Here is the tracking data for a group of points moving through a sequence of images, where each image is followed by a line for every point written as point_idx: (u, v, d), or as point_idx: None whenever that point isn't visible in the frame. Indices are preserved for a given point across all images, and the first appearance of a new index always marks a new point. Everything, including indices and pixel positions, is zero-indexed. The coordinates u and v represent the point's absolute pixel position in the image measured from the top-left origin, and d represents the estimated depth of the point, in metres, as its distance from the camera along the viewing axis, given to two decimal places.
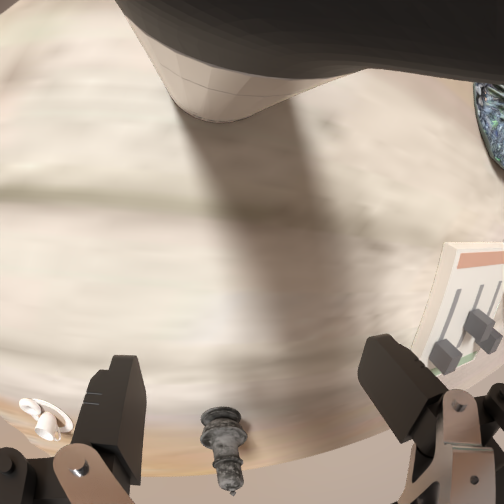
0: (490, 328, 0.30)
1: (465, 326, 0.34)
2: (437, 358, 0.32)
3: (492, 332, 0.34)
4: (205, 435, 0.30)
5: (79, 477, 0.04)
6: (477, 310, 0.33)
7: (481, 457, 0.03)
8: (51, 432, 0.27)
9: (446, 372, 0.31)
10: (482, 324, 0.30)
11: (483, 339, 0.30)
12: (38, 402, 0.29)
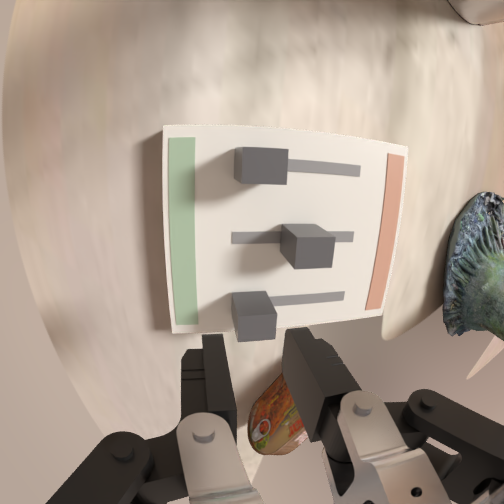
0: (321, 258, 0.21)
1: (288, 224, 0.24)
2: None
3: None
4: None
5: (211, 444, 0.05)
6: None
7: (414, 465, 0.04)
8: None
9: (249, 151, 0.18)
10: (326, 233, 0.22)
11: (300, 248, 0.21)
12: None
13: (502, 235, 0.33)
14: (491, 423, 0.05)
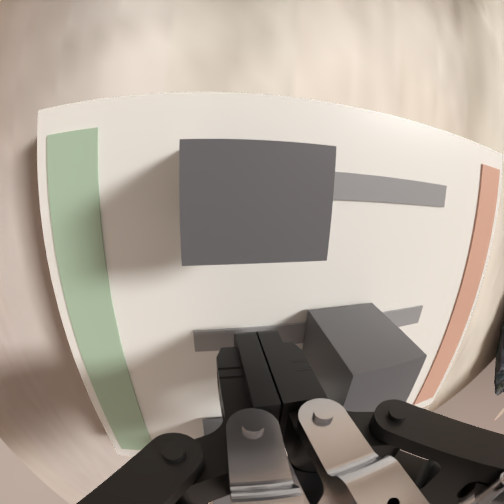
0: (391, 396, 0.09)
1: (322, 311, 0.11)
2: None
3: None
4: None
5: (263, 438, 0.05)
6: None
7: (387, 476, 0.04)
8: None
9: (203, 155, 0.05)
10: (406, 344, 0.09)
11: (356, 393, 0.08)
12: None
13: None
14: (468, 427, 0.05)
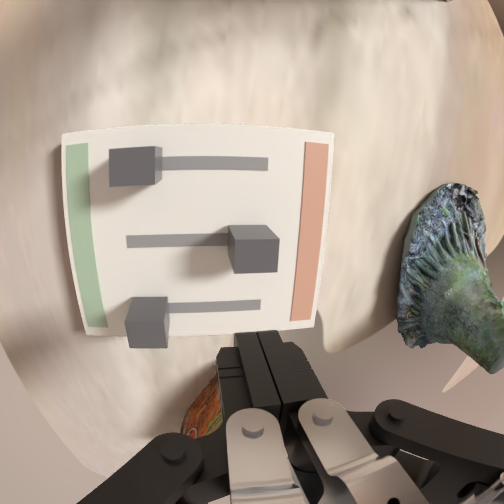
0: (264, 262, 0.20)
1: (235, 225, 0.23)
2: None
3: (166, 320, 0.22)
4: None
5: (262, 438, 0.05)
6: None
7: (387, 476, 0.04)
8: None
9: (115, 153, 0.16)
10: (271, 235, 0.20)
11: (239, 251, 0.20)
12: None
13: (477, 234, 0.32)
14: (467, 427, 0.05)
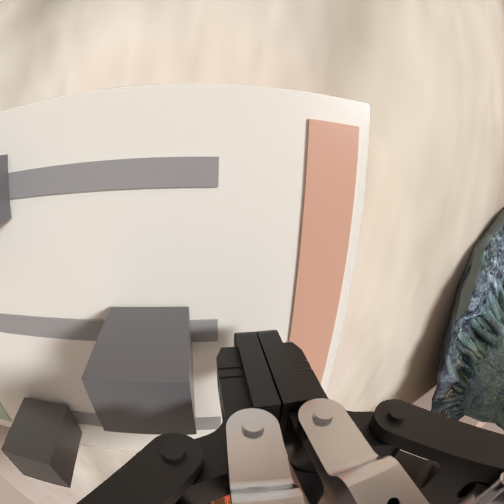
0: (161, 420, 0.07)
1: (122, 310, 0.10)
2: None
3: (64, 448, 0.09)
4: None
5: (262, 438, 0.05)
6: (191, 348, 0.11)
7: (387, 476, 0.04)
8: None
9: None
10: (175, 362, 0.08)
11: (100, 400, 0.07)
12: None
13: None
14: (468, 427, 0.05)
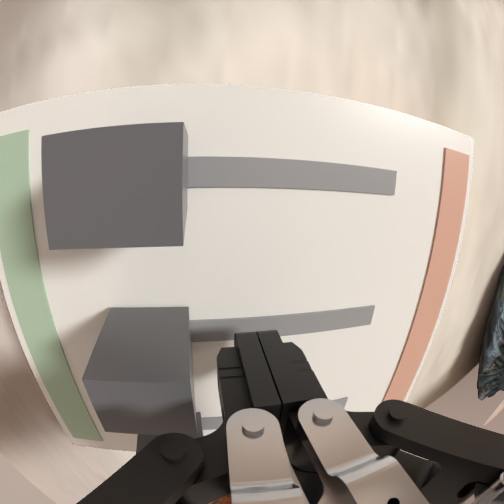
0: (162, 420, 0.07)
1: (122, 311, 0.10)
2: None
3: None
4: None
5: (263, 438, 0.05)
6: (191, 348, 0.11)
7: (387, 476, 0.04)
8: None
9: (58, 148, 0.05)
10: (176, 362, 0.08)
11: (100, 401, 0.07)
12: None
13: None
14: (467, 427, 0.05)
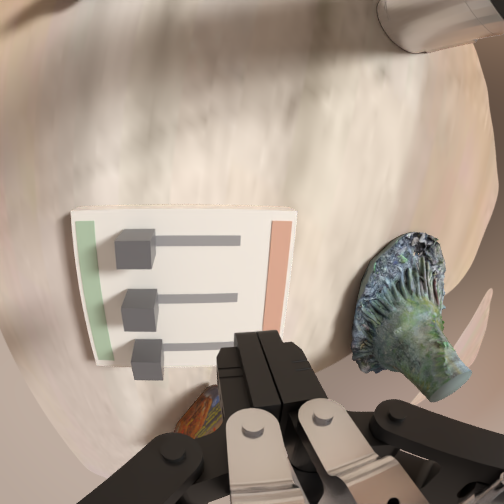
0: (144, 324, 0.24)
1: (132, 290, 0.27)
2: (133, 233, 0.24)
3: (162, 359, 0.28)
4: None
5: (263, 438, 0.05)
6: None
7: (387, 476, 0.04)
8: None
9: (119, 244, 0.22)
10: (150, 304, 0.25)
11: (125, 316, 0.24)
12: None
13: (435, 276, 0.39)
14: (468, 427, 0.05)
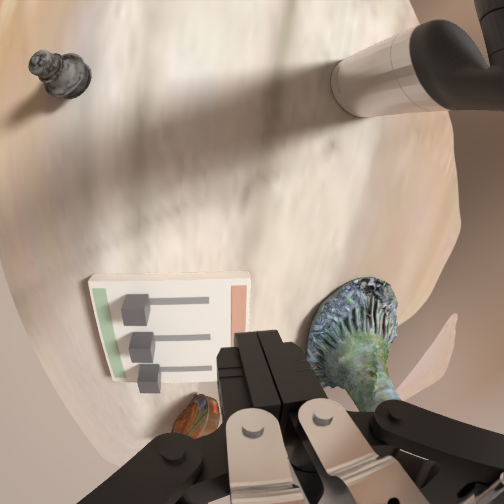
0: (145, 358, 0.35)
1: (136, 333, 0.38)
2: (133, 299, 0.35)
3: (159, 378, 0.39)
4: (74, 56, 0.24)
5: (263, 438, 0.05)
6: (154, 342, 0.39)
7: (387, 476, 0.04)
8: None
9: (124, 311, 0.33)
10: (148, 345, 0.36)
11: (131, 354, 0.35)
12: None
13: (386, 310, 0.48)
14: (468, 427, 0.05)
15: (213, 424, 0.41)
